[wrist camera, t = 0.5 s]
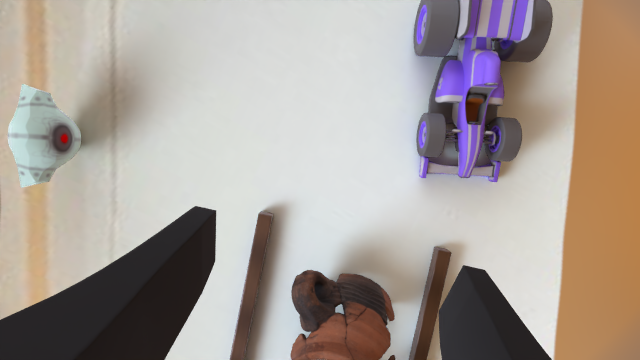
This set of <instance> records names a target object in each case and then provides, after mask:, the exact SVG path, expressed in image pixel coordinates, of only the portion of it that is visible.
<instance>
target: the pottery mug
mask: <svg viewBox="0 0 640 360" xmlns="http://www.w3.org/2000/svg"><path fill="white" fill-rule="evenodd" d="M292 300H293V303H294V306H295V309H296V310H297V312H298V313H299V314H300V322H301V327H302V328H303V330H305V331H307V332H310V331H311V334H310V335H309V337H308V338H306V337H305V335H304V334H300V335H299V336H298V338H297V339H296V341H295V343H294V344H293V347H292V351H291V359H292V360H379V359H380V358H381V357H382V355H383V354H384V353H385V352H386V351H387V349H388V348H389V347H390V339H391V338H390V332H389V331H388V329H387V328H386V325H387V317H388V319H389V320H390V321H393V320H394V312H393V308H392V304H391V300H390V298H389V296H388V294H387V293H386V292H385V291H384V289H383V288H381V287H380V286H379V285H378V284H377V283H375V282H374V281H372V280H371V279H368V278H366V277H363V276H360V275H356V274H340V276H339V279H338V280H337V282H334V281H333V280H329V279H328V278H327V277H325V276H324V275H323V274H322V273H320V272H318V271H313V270H307V271H304V272H303V273H302V274H300V275H297V276H296V278H295V281H294V283H293V286H292ZM340 304H342V305H343V309H344V314H341V313H335V307H337V306H338V305H340ZM386 314H387V315H386ZM388 360H395V356H394V355H392V356H390V358H389V359H388Z"/></svg>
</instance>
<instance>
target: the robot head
mask: <svg viewBox="0 0 640 360" xmlns="http://www.w3.org/2000/svg"><path fill="white" fill-rule="evenodd" d="M8 143H9V146H10V148H11V150H12V152H13V154H14V157H15V161H16V164H17V167H18V172H19V178H20V184H21V187H26V186H30V185H35V184H40V183H44V182H49V180H50V179H51V177H52V175H53V173H54V172H55V170H56V169H57V168H59V167H60V166H61V165H63V164H64V163H66V162H67V161H69V160H70V159H72V158H73V157H74V156H75V154H76V153H77V152H78V151H79V149H80V145H81V133H80V130H79V128H78V127H77V125H76V124H75V122H74V121H73V120H72V119H71V118H70V117H68V116H67V115H66V114H65V113H64V112H62V111H61V110H60V109H59V108H58V107H57V106H56V104H55V102H54V100H53V98H52V96H51V94H50V93H48V92H45V91H42V90H39V89H36V88H33V87H30V86H27V85H25V84H22V88H21V93H20V98H19V103H18V107H17V109H16V112H15V115H14V117H13V119H12V121H11V123H10V124H9V129H8Z"/></svg>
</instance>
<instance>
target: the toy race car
mask: <svg viewBox="0 0 640 360" xmlns="http://www.w3.org/2000/svg"><path fill="white" fill-rule="evenodd" d="M552 18H553V16H552V8H551V5H550V3H549V2H548V1H547V0H421V2H420V5H419V8H418V11H417V16H416V21H415V28H414V49H415V53H416V55H418V56H431V57H444V58H443V59H442V62H441V64H440V67H439V70H438V73H437V76H436V80H435V83H434V86H433V89H432V92H431V95H430V100H429V111H428V113H424V114H423V115H422V117H421V119H420V121H419V125H418V130H417V150H418V153H419V155H420V156H421V163H420V175H419V176H420V177H421V178H426V173H440V174H457V175H458V176H459V177H461V178H469V177H470V175H474V176H489V181H492V182H497V180H498V174H499V170H500V165H501V162H500V161H511V160H513V159H514V158H515V157H516V155H517V154H518V152H519V149H520V146H521V141H522V130H521V126H520V123H519V122H518V120H517V119H515V118H503V117H497V106H502V105H503V99H504V86H503V81H502V78H501V75H500V67H501V61H500V60H502V61H514V62H531V61H533V60H534V59H536V58H537V57H538V56H539V55H540V53H541V52H542V50H543V49H544V47H545V45H546V43H547V41H548V38H549V35H550V31H551V27H552ZM491 37H492V38H491ZM454 38H456V39H457V40H460V45H459V51H458V56H446V55H447V54H448V52H449V51H450V49H451V47H452V44H453V41H454ZM491 41H495V51H493V50H492V43H491ZM446 123H454V124H455V126H457V127H454V129H452V131H446ZM485 125H489V126H488V129H487V131H485V132H484V127H485ZM446 133H451V134H454V136H451V135H446ZM484 135H485V137H484ZM448 137H455V139H445V138H448ZM483 139H484V140H485V141H483ZM445 141H453V142H455V149H456V151H457V152H459V153H458V166H451V165H440V164H436V163H434V162H431V161H428V160H429V158H428V157H438V156H440V154H441V152H442V150H443V147H444V144H445ZM482 143H485V150H486V154H487V156H488V158H489V159H490V160H491V162H490V164H487V165H483V166H478V167H474V166H475V163H476V161H477V159H478V156H479V153H480V150H481V147H482Z"/></svg>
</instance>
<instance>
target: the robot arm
mask: <svg viewBox="0 0 640 360" xmlns="http://www.w3.org/2000/svg"><path fill="white" fill-rule="evenodd" d="M215 244H216V210H211V209H207V208H202V207H198V206H195V207H193V208H192V209H190V210H189V211H188V212H186V213H185V214H183V215H182V216H181V217H179V218H178V219H176V220H175V221H174V222H172V223H171V224H170V225H168V226H167V227H165V228H164V229H163V230H161V231H160V232H158V233H157V234H156V235H154V236H153V237H151V238H150V239H148V240H147V241H145V242H144V243H142V244H141V245H139V246H138V247H136V248H135V249H133V250H132V251H130V252H129V253H127V254H126V255H124V256H122V257H121V258H119V259H118V260H116V261H114V262H113V263H111V264H109V265H108V266H106V267H105V268H103V269H101V270H100V271H98V272H96V273H94V274H93V275H91V276H89V277H87V278H86V279H84V280H82V281H80V282H78V283H77V284H75V285H73V286H71V287H69V288H67V289H65V290H63V291H61V292H60V293H58V294H56V295H54V296H51V297H49V298H47V299H45V300H43V301H41V302H39V303H36V304H34V305H32V306H30V307H28V308H25V309H23V310H21V311H19V312H17V313H15V314H12V315H10V316H8V317H6V318H4V319H1V320H0V360H164V359H165V358H166V356H167V354H168V352H169V351H170V349H171V347H172V345H173V343H174V342H175V340H176V338H177V336H178V335H179V333H180V331H181V329H182V328H183V326H184V324H185V322H186V321H187V319H188V317H189V315H190V313H191V312H192V310H193V308H194V306H195V304H196V303H197V301H198V299H199V297H200V295H201V294H202V292H203V289H204V287H205V285H206V282H207V280H208V278H209V275H210V273H211V270H212V268H213V265H214V263H215ZM439 334H440V349H441V356H442V360H552V359H551V358H550V357H549V356H548V354H547V353H546V352H545V351H544V349H543V348H542V347H541V346H540V344H539V343H538V342H537V340H536V339H535V338H534V336H533V335H532V334H531V332H530V331H529V330H528V328H527V327H526V326H525V324H524V323H523V322H522V320H521V319H520V318H519V316H518V315H517V314H516V312H515V311H514V309H513V308H512V307H511V305H510V304H509V303H508V301H507V300H506V298H505V297H504V296H503V294H502V293H501V291H500V290H499V289H498V287H497V286H496V284H495V283H494V282H493V280H492V279H491V278H490V276H489V275H488V274H487V272H486V271H485V270H482V269H478V268H473V267H469V266H464V265H463V267H462V269H461V271H460V272H459V274H458V276H457V278H456V280H455V282H454V284H453V286H452V288H451V289H450V291H449V293H448V295H447V297H446V299H445V301H444V303H443V305H442V306H441V308H440V310H439Z"/></svg>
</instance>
